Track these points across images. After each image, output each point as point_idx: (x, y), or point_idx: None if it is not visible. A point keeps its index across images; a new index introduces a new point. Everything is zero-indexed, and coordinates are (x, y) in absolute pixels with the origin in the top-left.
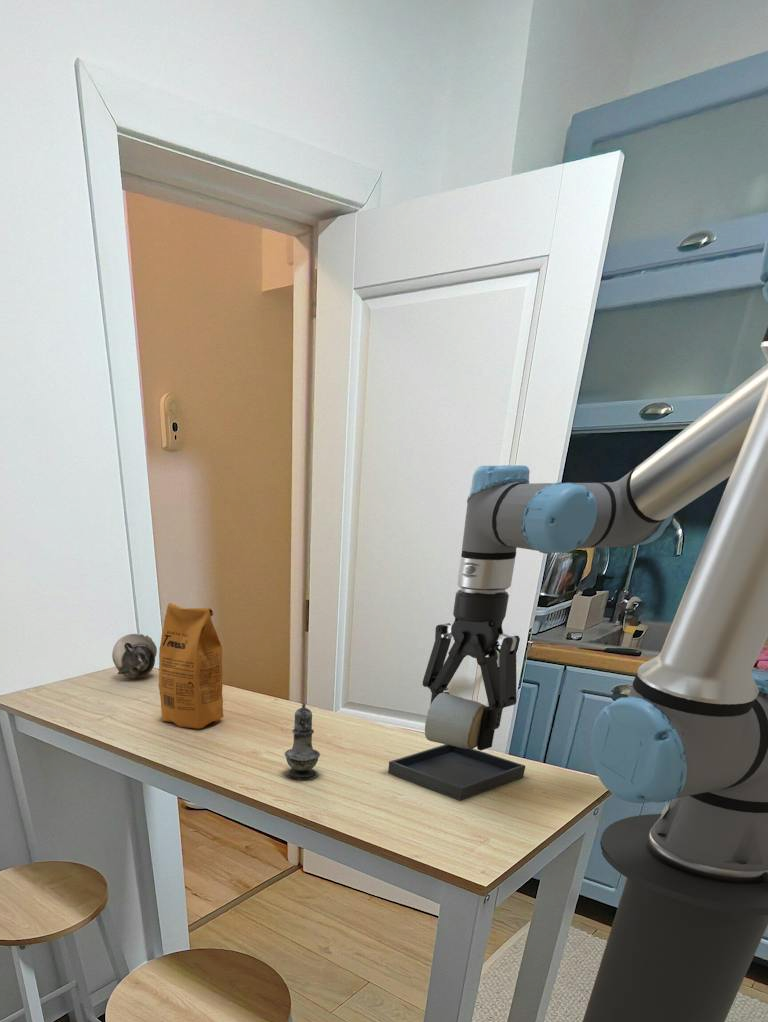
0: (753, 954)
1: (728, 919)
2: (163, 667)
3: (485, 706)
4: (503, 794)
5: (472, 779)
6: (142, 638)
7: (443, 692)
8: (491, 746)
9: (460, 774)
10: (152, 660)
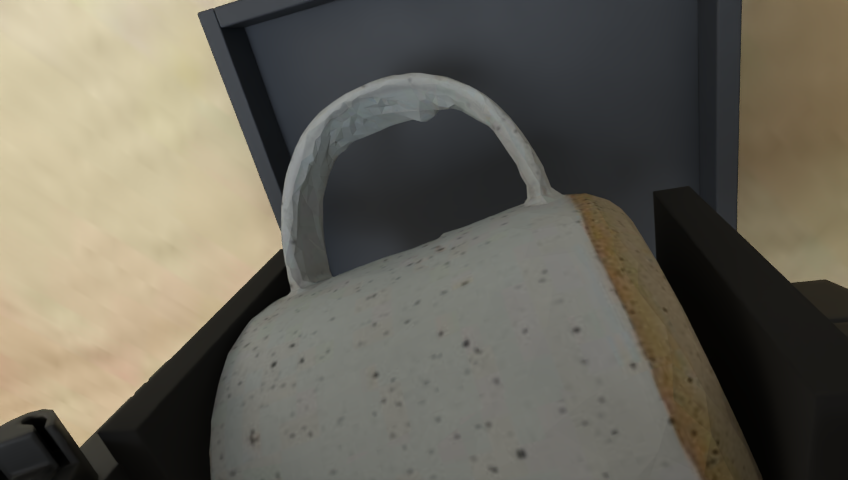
0: None
1: None
2: None
3: (729, 469)
4: (796, 159)
5: (599, 193)
6: None
7: (114, 458)
8: (690, 190)
9: (520, 197)
10: None
